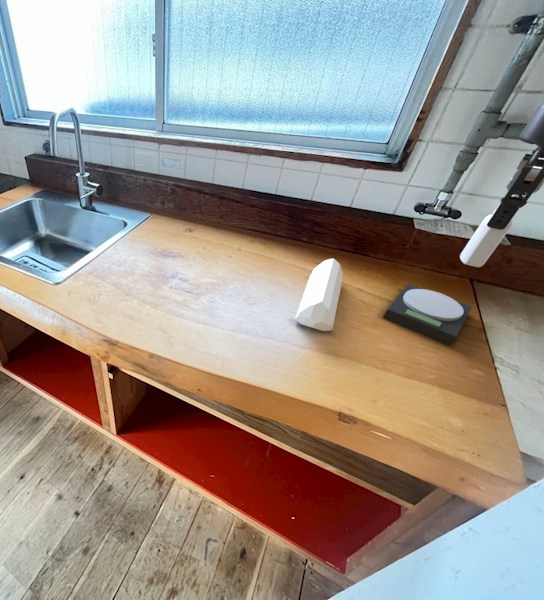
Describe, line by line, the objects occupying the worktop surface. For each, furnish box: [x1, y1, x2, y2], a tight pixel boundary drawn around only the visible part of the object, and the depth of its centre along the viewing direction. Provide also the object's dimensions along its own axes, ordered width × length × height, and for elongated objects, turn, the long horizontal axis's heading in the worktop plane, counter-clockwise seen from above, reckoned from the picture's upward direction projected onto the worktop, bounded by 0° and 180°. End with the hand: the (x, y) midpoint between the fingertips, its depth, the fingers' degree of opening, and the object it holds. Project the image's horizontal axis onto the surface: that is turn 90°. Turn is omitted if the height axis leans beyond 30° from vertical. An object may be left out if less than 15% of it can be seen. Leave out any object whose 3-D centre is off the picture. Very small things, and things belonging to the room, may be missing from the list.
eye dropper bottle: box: [459, 194, 519, 268], centre depth 55 cm, size 4×6×12 cm
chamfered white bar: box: [294, 257, 344, 332], centre depth 74 cm, size 7×7×24 cm
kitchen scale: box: [382, 283, 473, 346], centre depth 70 cm, size 12×14×3 cm
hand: (498, 221), depth 54 cm, fingers closed on eye dropper bottle, 5 cm apart
